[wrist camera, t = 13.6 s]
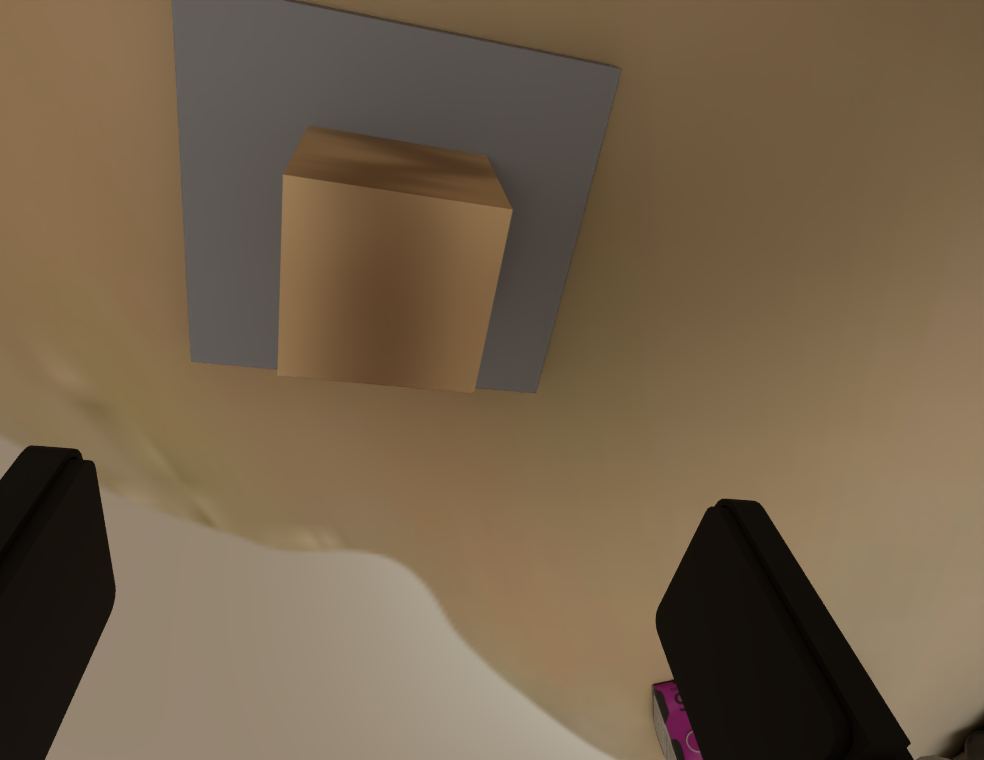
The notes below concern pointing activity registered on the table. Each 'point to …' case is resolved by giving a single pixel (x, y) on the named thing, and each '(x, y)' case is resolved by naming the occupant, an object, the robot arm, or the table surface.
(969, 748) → the bundt pan
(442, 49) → the charcoal mat
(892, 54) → the table surface
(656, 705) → the candy bar box
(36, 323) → the table surface
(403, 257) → the oak cube
